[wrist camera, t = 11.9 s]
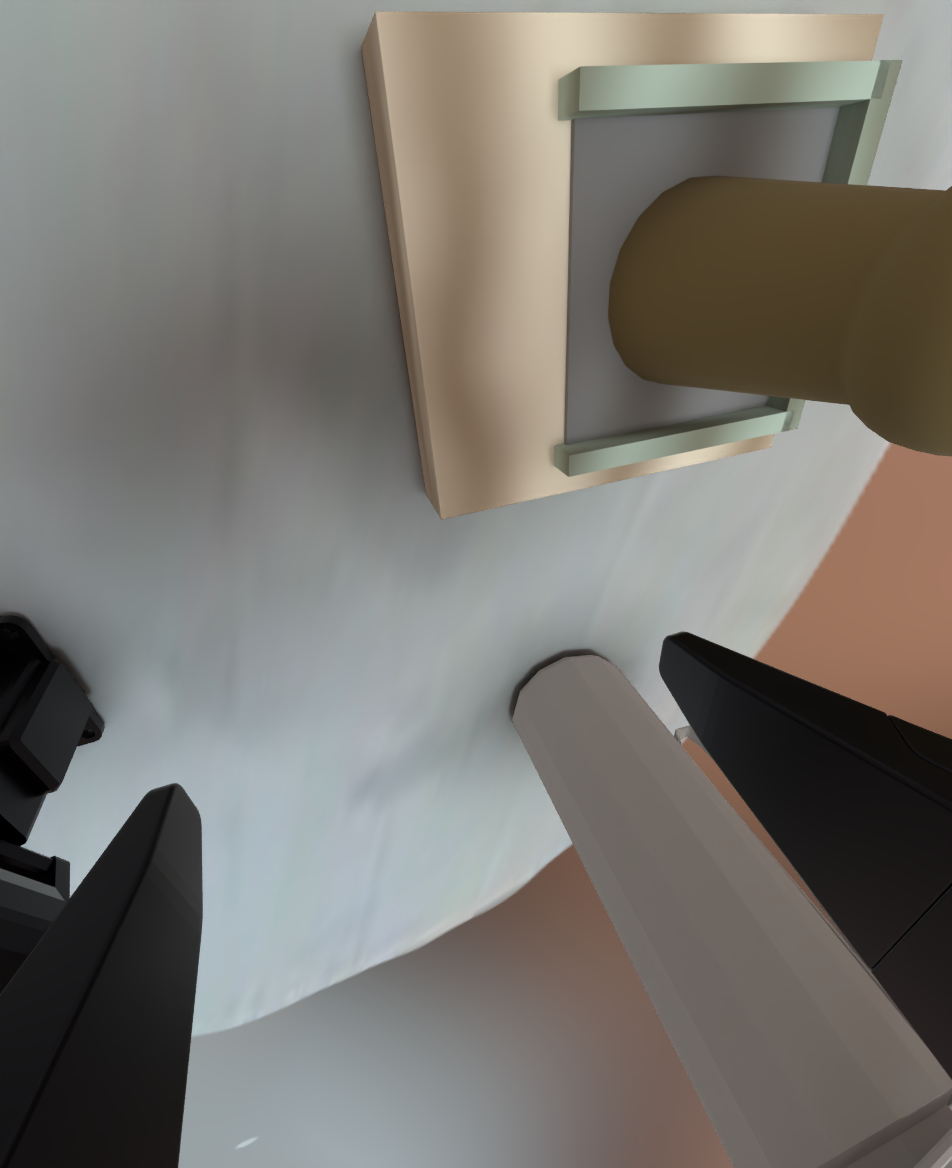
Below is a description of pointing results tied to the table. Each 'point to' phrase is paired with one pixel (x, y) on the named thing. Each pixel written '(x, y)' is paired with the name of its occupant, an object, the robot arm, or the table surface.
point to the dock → (583, 219)
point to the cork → (796, 298)
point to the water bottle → (731, 943)
